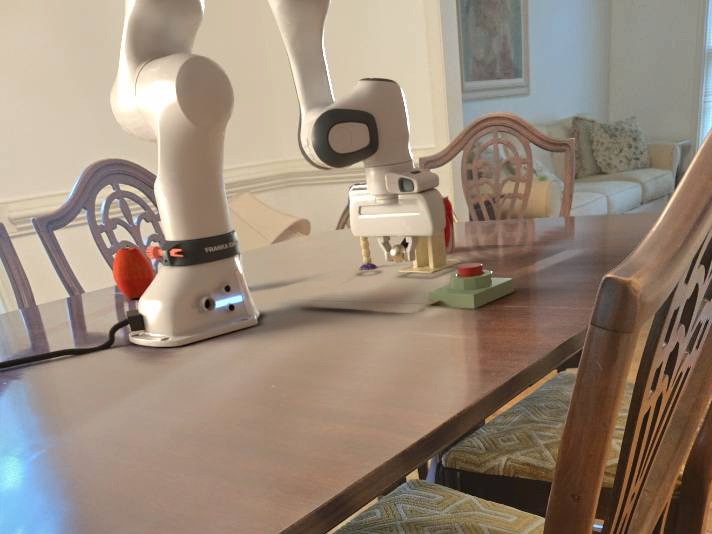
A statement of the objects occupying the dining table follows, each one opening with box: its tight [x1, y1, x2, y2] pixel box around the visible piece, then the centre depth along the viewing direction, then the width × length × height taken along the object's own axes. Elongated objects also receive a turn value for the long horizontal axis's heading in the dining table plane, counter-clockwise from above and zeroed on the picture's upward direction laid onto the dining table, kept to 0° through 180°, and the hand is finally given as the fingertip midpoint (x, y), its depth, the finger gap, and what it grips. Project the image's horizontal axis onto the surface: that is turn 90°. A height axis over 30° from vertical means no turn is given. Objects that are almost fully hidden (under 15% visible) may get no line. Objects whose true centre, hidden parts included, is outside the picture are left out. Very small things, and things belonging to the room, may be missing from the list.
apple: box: [112, 245, 156, 300], centre depth 159 cm, size 8×8×11 cm
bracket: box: [398, 231, 462, 274], centre depth 150 cm, size 10×8×13 cm
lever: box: [390, 236, 409, 264], centre depth 146 cm, size 14×3×3 cm
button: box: [457, 262, 484, 277], centre depth 126 cm, size 4×4×2 cm
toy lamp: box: [347, 185, 378, 271], centre depth 155 cm, size 5×5×17 cm
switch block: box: [427, 269, 515, 310], centre depth 128 cm, size 12×9×4 cm
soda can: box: [441, 194, 456, 255], centre depth 164 cm, size 7×7×12 cm
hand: (400, 260), depth 145 cm, fingers closed on lever, 3 cm apart
